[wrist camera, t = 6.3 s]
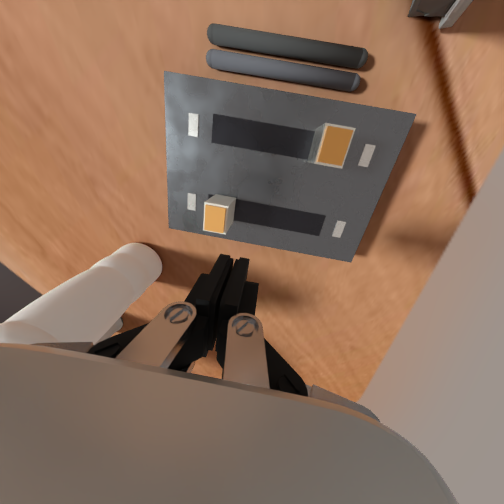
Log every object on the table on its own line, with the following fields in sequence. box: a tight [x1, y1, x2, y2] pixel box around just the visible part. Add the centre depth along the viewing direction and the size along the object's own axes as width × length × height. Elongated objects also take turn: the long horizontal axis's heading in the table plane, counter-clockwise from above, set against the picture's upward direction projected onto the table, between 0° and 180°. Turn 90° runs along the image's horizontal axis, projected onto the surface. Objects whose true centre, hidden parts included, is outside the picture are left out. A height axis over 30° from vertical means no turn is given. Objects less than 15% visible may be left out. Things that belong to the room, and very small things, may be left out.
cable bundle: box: [206, 24, 368, 92], centre depth 20 cm, size 3×15×1 cm, turn 81°
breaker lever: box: [203, 194, 236, 235], centre depth 22 cm, size 3×2×5 cm
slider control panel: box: [164, 71, 416, 262], centre depth 22 cm, size 16×24×8 cm, turn 81°
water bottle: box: [0, 243, 162, 345], centre depth 21 cm, size 7×7×25 cm
